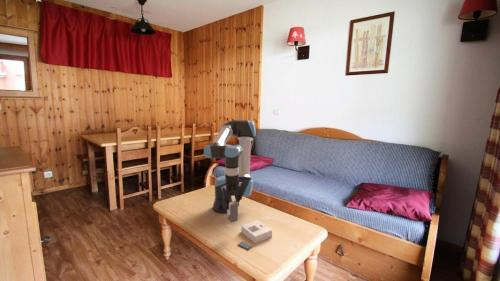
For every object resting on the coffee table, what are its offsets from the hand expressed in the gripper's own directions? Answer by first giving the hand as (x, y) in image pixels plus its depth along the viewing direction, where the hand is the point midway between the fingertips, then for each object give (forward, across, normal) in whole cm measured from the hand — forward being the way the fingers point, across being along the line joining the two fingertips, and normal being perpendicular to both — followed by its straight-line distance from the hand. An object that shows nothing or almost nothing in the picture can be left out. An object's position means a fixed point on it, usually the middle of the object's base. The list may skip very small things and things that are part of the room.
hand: (232, 212), depth 139 cm
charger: (+4, 0, 0) cm, 4 cm away
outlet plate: (+14, +12, -8) cm, 19 cm away
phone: (+14, 0, -14) cm, 19 cm away
